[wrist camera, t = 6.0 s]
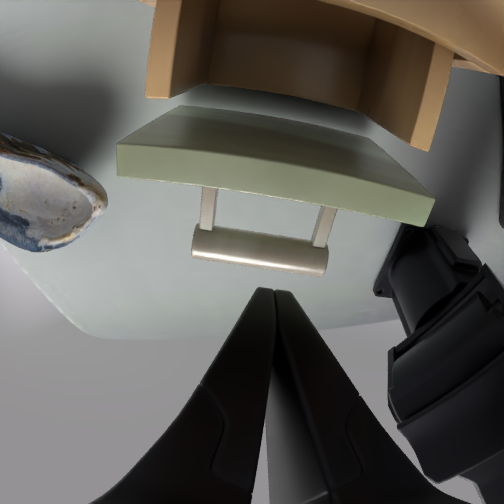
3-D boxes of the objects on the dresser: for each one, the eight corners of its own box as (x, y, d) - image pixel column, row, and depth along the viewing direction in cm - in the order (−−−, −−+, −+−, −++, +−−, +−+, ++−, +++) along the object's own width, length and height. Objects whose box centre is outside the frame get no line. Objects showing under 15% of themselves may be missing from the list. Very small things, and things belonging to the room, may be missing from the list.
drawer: (342, 228, 19) (375, 322, 12) (173, 202, 18) (126, 288, 12) (405, -36, 9) (486, -72, 3) (210, -76, 8) (173, -148, 2)
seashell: (74, 29, 12) (23, 29, 8) (147, 194, 19) (117, 235, 15) (-39, 139, 16) (-78, 162, 12) (20, 252, 22) (-9, 287, 18)
